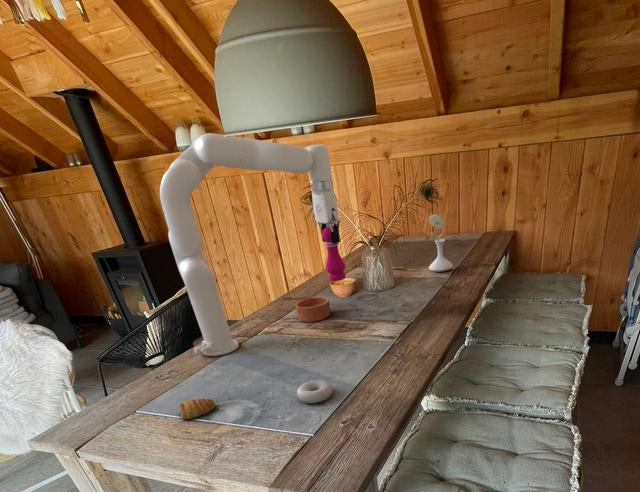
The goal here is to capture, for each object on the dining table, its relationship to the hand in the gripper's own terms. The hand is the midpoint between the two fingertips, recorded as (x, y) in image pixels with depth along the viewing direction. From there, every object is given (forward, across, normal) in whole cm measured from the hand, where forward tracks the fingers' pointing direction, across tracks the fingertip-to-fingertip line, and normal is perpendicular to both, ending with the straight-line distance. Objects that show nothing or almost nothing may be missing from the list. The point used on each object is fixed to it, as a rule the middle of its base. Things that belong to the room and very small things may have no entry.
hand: (331, 241), depth 169 cm
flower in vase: (+28, -16, +66) cm, 74 cm away
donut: (+28, +51, -42) cm, 72 cm away
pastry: (+28, +33, -70) cm, 83 cm away
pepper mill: (+14, 0, 0) cm, 14 cm away
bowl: (+28, -10, -8) cm, 31 cm away
